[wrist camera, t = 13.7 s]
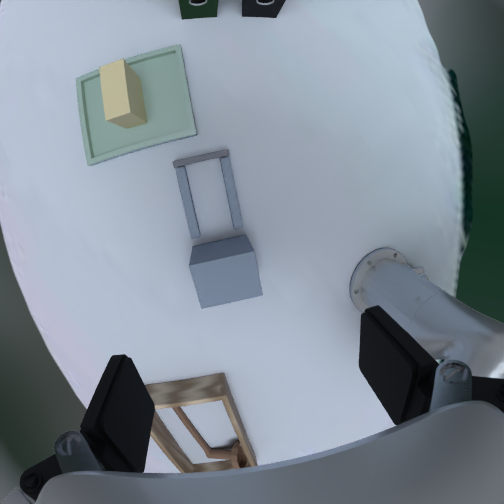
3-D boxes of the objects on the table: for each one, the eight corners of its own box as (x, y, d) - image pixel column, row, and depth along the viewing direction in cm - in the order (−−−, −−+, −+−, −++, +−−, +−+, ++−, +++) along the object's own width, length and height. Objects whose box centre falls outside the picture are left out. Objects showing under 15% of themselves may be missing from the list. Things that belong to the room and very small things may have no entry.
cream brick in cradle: (140, 78, 32) (123, 58, 24) (147, 122, 34) (130, 112, 26) (120, 85, 32) (99, 67, 23) (127, 128, 34) (105, 120, 26)
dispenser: (229, 149, 38) (234, 146, 30) (253, 272, 44) (262, 295, 36) (173, 162, 37) (164, 162, 30) (202, 283, 43) (201, 308, 36)
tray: (181, 48, 32) (180, 44, 30) (196, 135, 36) (196, 133, 35) (80, 81, 31) (75, 78, 29) (92, 165, 35) (87, 165, 34)
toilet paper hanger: (175, 387, 53) (162, 412, 46) (214, 387, 51) (203, 415, 44) (217, 448, 61) (209, 471, 54) (249, 450, 58) (244, 473, 51)
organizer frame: (223, 372, 49) (226, 395, 43) (255, 457, 60) (259, 474, 54) (135, 385, 48) (130, 407, 42) (190, 466, 59) (191, 483, 53)
